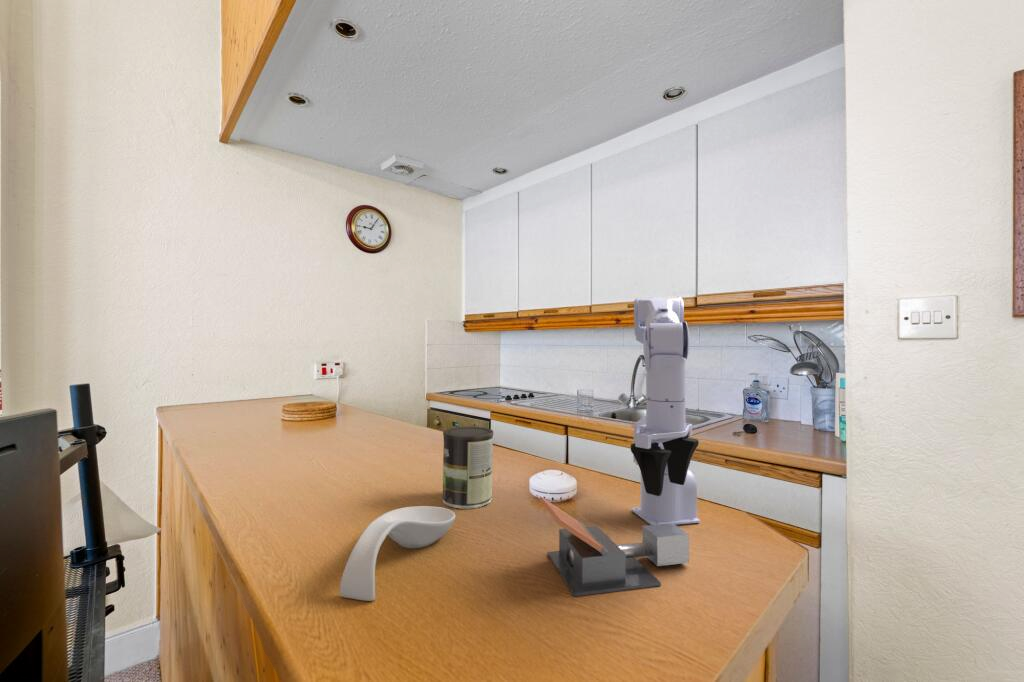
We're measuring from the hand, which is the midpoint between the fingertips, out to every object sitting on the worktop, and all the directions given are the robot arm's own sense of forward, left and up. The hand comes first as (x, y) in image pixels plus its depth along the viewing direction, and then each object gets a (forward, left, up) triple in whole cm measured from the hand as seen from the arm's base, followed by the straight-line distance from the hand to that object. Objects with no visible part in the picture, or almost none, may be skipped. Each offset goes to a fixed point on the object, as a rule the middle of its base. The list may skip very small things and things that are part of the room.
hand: (665, 488), depth 64 cm
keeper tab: (+17, +3, -3) cm, 17 cm away
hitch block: (+12, +3, -9) cm, 16 cm away
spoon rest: (+39, -7, -10) cm, 41 cm away
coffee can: (+27, -28, -10) cm, 40 cm away
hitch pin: (+8, +3, -9) cm, 12 cm away
